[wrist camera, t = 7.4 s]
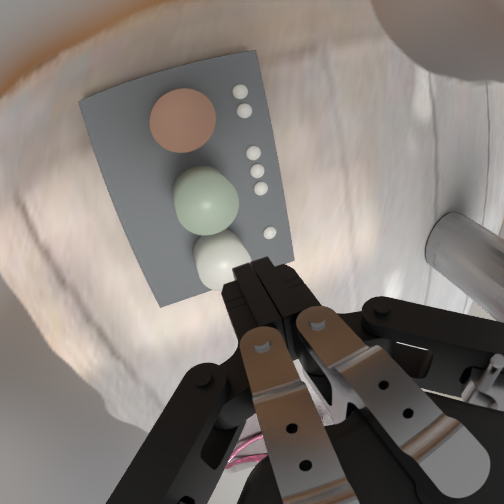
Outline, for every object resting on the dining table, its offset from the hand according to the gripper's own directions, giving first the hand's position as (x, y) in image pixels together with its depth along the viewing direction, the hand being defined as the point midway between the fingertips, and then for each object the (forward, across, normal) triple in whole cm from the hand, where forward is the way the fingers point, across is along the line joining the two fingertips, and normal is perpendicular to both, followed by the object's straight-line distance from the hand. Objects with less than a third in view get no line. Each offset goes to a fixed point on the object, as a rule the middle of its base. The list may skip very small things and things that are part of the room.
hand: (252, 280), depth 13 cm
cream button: (+14, 0, +6) cm, 15 cm away
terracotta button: (+14, 0, -6) cm, 15 cm away
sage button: (+13, 0, 0) cm, 13 cm away
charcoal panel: (+16, 0, 0) cm, 16 cm away
